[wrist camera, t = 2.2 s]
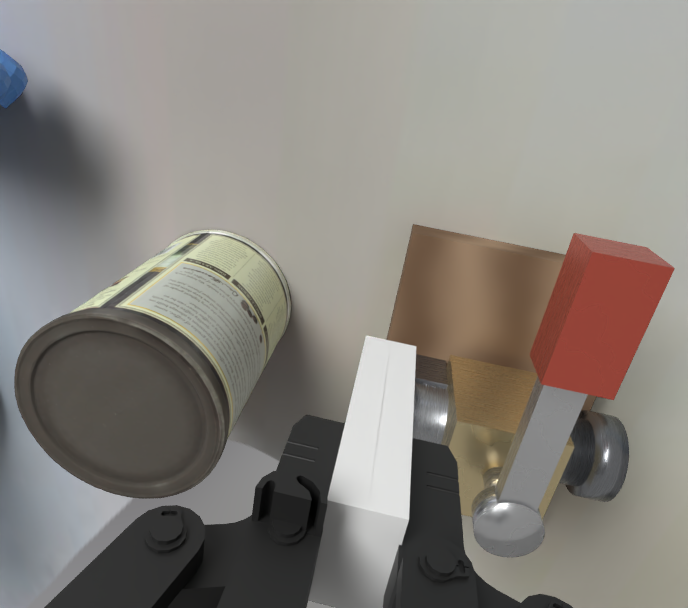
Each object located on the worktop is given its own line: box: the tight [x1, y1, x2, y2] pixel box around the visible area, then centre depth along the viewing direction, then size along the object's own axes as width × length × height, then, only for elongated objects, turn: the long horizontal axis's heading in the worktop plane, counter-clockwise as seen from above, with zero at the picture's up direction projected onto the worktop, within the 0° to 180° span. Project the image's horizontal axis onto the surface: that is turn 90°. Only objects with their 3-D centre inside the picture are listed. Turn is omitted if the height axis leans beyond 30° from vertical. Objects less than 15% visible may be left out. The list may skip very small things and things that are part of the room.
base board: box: [387, 224, 596, 411], centre depth 36 cm, size 14×20×2 cm
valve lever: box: [471, 233, 675, 557], centre depth 22 cm, size 16×3×2 cm, turn 170°
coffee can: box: [15, 230, 291, 498], centre depth 31 cm, size 10×10×14 cm
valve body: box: [412, 354, 629, 519], centre depth 30 cm, size 14×6×10 cm, turn 80°
